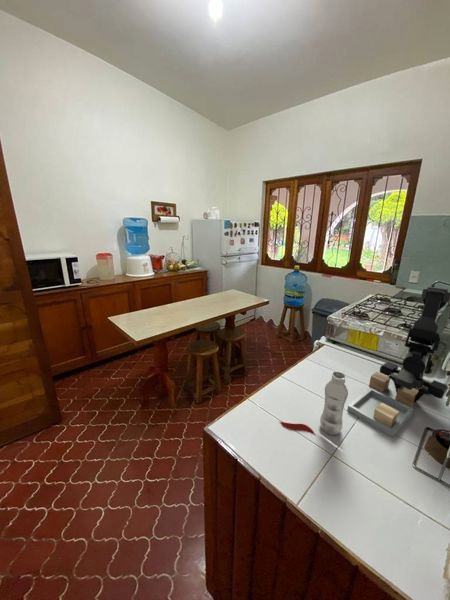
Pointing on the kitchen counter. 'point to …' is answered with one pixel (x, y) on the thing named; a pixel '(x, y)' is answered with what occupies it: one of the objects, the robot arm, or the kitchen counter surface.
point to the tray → (371, 401)
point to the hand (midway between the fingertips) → (406, 398)
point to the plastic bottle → (334, 404)
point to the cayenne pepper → (297, 427)
